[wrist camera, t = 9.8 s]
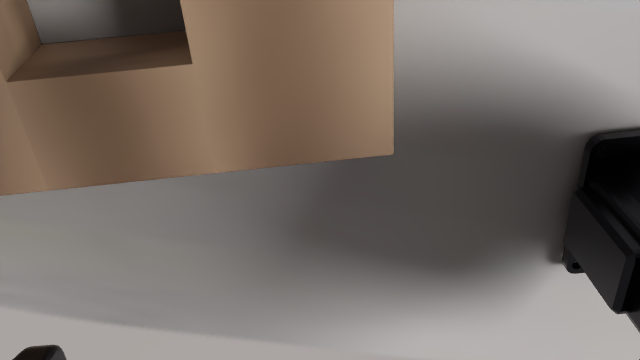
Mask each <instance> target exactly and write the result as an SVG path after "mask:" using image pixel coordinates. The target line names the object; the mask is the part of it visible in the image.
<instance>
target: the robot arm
mask: <svg viewBox="0 0 640 360" xmlns="http://www.w3.org/2000/svg"><path fill="white" fill-rule="evenodd" d="M604 145H605V146H604ZM601 146H604V148H603V149H602V150H601V151H598V152H597V150H598V149H599V148H600V147H601ZM564 243H565V248H564V253H563V258H562V263H563V265H564V266H565V268H566V269H567V271H568V272H570V273H574V274H577V273H586V275H587V276H588V278H589V279H590V280H591V282H592V283H593V285H594V286H595V288H596V289H597V290H598V292H599V293H600V295H601V296H602V298H603V299H604V300H605V302H606V303H607V305H608V306H609V308H610V309H611V310H613V311H614V312H615V313H616V314H624V313H626V314H627V316H628V317H629V319H630V320H631V321H632V323H633V324H634V325H635V327H636V328H637V330H638V331H639V332H640V130H635V131H625V132H616V133H606V134H599V135H596V136H594V137H592V138H591V139H590V140H589V141H588V142H587V144H586V147H585V151H584V156H583V160H582V165H581V170H580V175H579V180H578V185H577V188H576V190H575V191H574V193H573V195H572V200H571V205H570V210H569V215H568V220H567V225H566V230H565V235H564ZM575 261H577V262H575ZM574 262H575V263H574ZM13 360H66V357H65V355H64V352H63V351H62V349H61V348H60V347H59V346H57V345H45V346H33V347H28V348H26V349H24V350H23V351H22V352H20V353H19V354H18V355H17V356H16V357H15V358H14V359H13ZM639 360H640V359H639Z"/></svg>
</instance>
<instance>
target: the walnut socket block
mask: <svg viewBox="0 0 640 360" xmlns="http://www.w3.org/2000/svg"><path fill="white" fill-rule="evenodd" d="M180 3H181V8H182V13H183V18H184V23H185V28H186V31H176V32H165V33H155V34H145V35H134V36H124V37H113V38H103V39H93V40H82V41H72V42H62V43H51V44H41V41H40V38H39V35H38V32H37V29H36V26H35V24H34V21H33V18H32V15H31V12H30V9H29V6H28V3H27V0H0V196H1V195H10V194H20V193H29V192H39V191H49V190H58V189H68V188H77V187H87V186H96V185H106V184H115V183H125V182H135V181H144V180H154V179H163V178H173V177H182V176H192V175H201V174H211V173H220V172H230V171H240V170H249V169H259V168H268V167H278V166H287V165H297V164H306V163H316V162H326V161H335V160H345V159H354V158H364V157H373V156H383V155H392V154H394V0H180Z"/></svg>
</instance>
